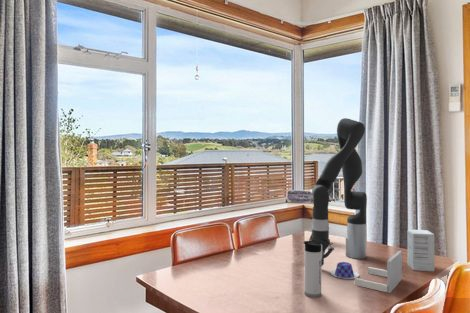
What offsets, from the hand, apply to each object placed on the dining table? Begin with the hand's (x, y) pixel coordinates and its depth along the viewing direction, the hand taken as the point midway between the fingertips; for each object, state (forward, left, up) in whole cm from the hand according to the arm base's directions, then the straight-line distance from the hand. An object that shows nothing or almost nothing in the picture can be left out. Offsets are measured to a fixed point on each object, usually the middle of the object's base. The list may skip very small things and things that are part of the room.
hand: (320, 266), depth 162 cm
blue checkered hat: (+12, 0, -2) cm, 12 cm away
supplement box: (+36, +30, -2) cm, 47 cm away
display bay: (+26, 0, -2) cm, 26 cm away
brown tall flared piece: (-19, +45, -2) cm, 49 cm away
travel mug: (+9, -28, -2) cm, 30 cm away
